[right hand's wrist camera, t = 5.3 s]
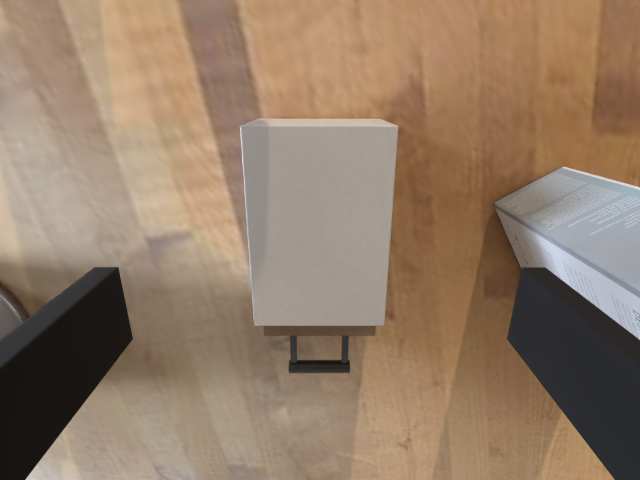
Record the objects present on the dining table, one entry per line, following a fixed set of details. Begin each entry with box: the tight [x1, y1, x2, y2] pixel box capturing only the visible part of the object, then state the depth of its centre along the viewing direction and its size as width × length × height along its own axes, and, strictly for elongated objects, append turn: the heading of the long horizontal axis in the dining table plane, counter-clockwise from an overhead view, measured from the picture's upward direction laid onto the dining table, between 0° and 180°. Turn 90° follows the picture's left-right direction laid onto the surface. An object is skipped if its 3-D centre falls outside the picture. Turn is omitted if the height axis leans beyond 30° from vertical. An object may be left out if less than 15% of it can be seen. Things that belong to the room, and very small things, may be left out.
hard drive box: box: [494, 167, 640, 340], centre depth 30 cm, size 16×8×20 cm, turn 31°
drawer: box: [263, 326, 375, 373], centre depth 36 cm, size 21×10×6 cm, turn 0°
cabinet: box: [240, 119, 398, 326], centre depth 34 cm, size 17×11×8 cm
